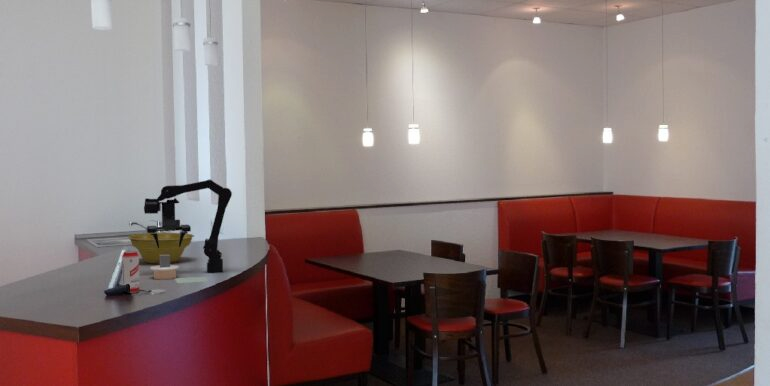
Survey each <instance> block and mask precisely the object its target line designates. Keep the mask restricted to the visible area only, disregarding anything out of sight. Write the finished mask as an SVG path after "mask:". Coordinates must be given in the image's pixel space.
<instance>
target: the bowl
mask: <svg viewBox="0 0 770 386" xmlns="http://www.w3.org/2000/svg"><path fill="white" fill-rule="evenodd" d="M153 278H154V280H171V279H175V278H177V269H175V270H166V271H155V270H153Z"/></svg>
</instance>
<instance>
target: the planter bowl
mask: <svg viewBox="0 0 770 386" xmlns="http://www.w3.org/2000/svg"><path fill="white" fill-rule="evenodd" d="M157 235H158V242H159V248H158V247H157V244H156V241H155V239H154V237H153V235H150V233H138V234H133V235H129V236H127V238H128V239H129V240H130V243H131V245H132V246H133V248H136V249H137V250H138V251H137V252H138V254H139V255H140V257H141V258H142V260H144V261H145V262H146V263H148V264H160V255H170V264H171V263H175V262H177V261H179V259H180V258H181V256H182V255H183V253H184V251H185V248H187V247H188V246H190V244H191V243H192V239H193V237H195V235H194V234H193V233H192V234H190V233H186V234H185V235H184V237H183V240H182V243H181V246H180V247H179V236H180V232H157Z"/></svg>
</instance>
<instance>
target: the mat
mask: <svg viewBox="0 0 770 386" xmlns="http://www.w3.org/2000/svg"><path fill="white" fill-rule="evenodd" d="M174 281H175V282H176V284H187V283H188V284H189V283H190V284H191V283H206V282H210V281H209V279H208V278H207V277H206V276H197V277H196V276H195V277H193V276H192V277H181V278H180V277H179V278H178V277H176V278H174Z"/></svg>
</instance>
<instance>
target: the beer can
mask: <svg viewBox="0 0 770 386" xmlns="http://www.w3.org/2000/svg"><path fill="white" fill-rule="evenodd" d="M139 255H140V254H139V252H138V251H137V250H125V251H123V254H122V256H121V278H122V280H121V282H122V283H121V284H122V285H126V284H129V285H130V293H131V294H136V293H138V292H139V291H140V256H139Z"/></svg>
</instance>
